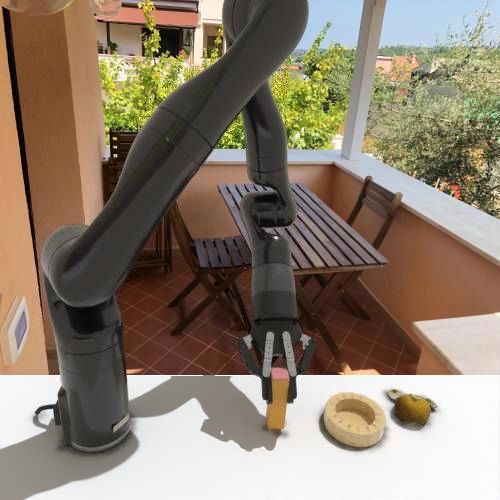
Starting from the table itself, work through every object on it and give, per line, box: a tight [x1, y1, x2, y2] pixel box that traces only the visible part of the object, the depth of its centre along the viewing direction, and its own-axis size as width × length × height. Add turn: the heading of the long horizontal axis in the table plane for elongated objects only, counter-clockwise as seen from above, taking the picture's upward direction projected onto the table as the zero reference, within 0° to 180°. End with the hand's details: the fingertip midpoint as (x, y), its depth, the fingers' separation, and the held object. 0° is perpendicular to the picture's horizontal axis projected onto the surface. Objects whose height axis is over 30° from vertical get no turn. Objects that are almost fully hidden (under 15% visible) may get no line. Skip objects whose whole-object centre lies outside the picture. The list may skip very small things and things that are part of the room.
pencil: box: [265, 366, 289, 430], centre depth 68 cm, size 3×3×10 cm
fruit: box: [387, 388, 438, 426], centre depth 74 cm, size 8×8×4 cm
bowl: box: [323, 391, 386, 448], centre depth 71 cm, size 10×10×3 cm
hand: (280, 403), depth 65 cm, fingers closed on pencil, 2 cm apart
